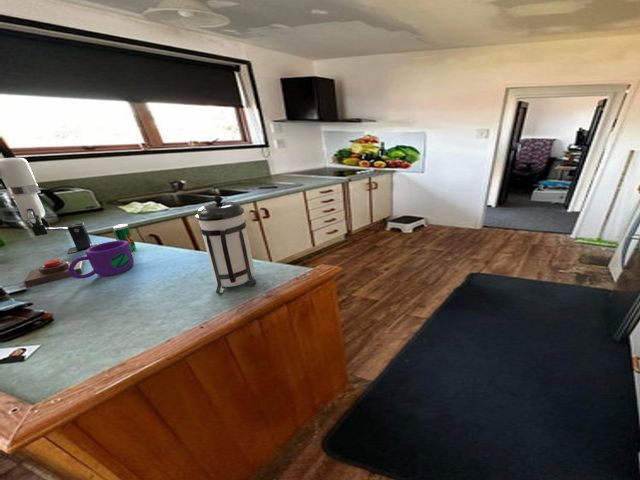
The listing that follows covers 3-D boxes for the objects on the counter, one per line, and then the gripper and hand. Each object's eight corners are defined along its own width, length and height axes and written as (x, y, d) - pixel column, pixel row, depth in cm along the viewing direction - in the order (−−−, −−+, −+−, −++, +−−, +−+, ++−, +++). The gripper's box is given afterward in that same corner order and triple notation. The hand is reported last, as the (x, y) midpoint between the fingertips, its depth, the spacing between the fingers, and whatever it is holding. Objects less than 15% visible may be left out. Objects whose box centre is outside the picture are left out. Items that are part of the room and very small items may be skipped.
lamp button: (44, 269, 96) (42, 265, 95) (46, 266, 98) (44, 261, 98) (61, 265, 98) (59, 261, 98) (62, 262, 101) (60, 258, 100)
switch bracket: (68, 255, 115) (57, 230, 111) (70, 250, 121) (59, 225, 117) (101, 248, 122) (91, 224, 118) (101, 244, 127) (92, 220, 123)
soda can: (120, 252, 117) (110, 226, 114) (135, 248, 121) (126, 223, 117) (123, 255, 115) (113, 228, 111) (138, 250, 119) (129, 225, 115)
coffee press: (197, 291, 86) (171, 200, 77) (239, 268, 100) (221, 189, 91) (236, 302, 80) (214, 205, 71) (275, 276, 94) (261, 192, 85)
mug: (125, 261, 109) (116, 238, 105) (143, 265, 105) (135, 241, 102) (65, 283, 93) (53, 257, 90) (84, 289, 89) (72, 262, 86)
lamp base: (27, 287, 91) (21, 276, 90) (33, 275, 99) (28, 266, 98) (82, 273, 100) (78, 263, 99) (84, 264, 107) (80, 254, 106)
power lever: (37, 233, 109) (36, 227, 109) (39, 230, 112) (39, 225, 112) (81, 232, 117) (81, 227, 117) (82, 230, 121) (82, 224, 120)
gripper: (14, 189, 109) (33, 229, 115) (2, 195, 97) (24, 240, 103) (42, 186, 114) (60, 225, 120) (34, 191, 102) (54, 235, 108)
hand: (43, 232), depth 112 cm, fingers open, 7 cm apart
